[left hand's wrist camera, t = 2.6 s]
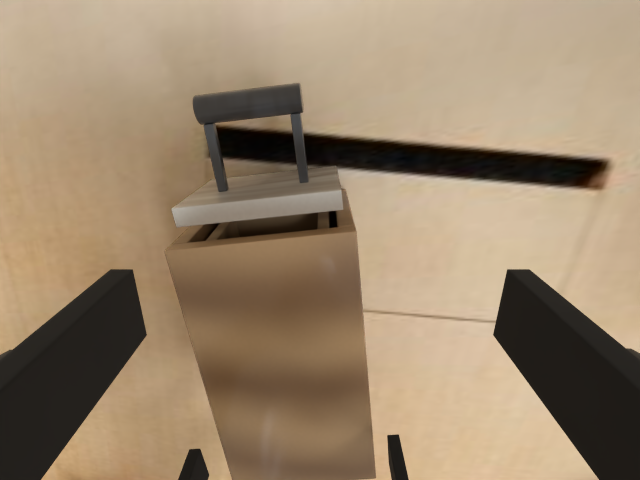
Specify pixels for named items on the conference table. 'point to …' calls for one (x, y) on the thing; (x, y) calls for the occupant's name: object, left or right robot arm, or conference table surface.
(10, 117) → the conference table surface
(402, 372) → the conference table surface
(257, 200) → the drawer
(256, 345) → the cabinet
